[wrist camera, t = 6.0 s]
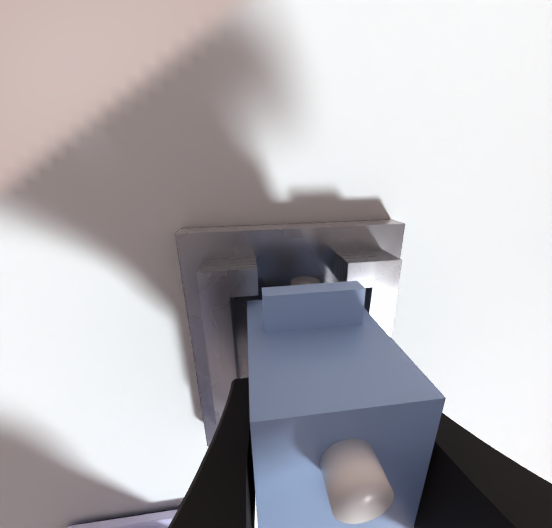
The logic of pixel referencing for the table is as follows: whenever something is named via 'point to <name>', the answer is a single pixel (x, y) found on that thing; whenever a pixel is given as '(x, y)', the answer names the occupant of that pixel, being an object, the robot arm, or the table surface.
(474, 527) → the robot arm
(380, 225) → the mount plate
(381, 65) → the table surface
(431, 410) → the servo
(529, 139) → the table surface
